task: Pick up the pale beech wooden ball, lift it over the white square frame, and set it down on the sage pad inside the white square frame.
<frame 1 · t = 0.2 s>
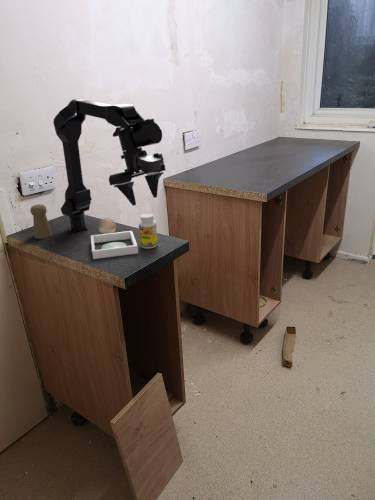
hand: (145, 201, 120), 15 cm above the table, tool pointing down, fingers open, 9 cm apart
white square frame: (114, 247, 127), on the table
supplement bottle: (149, 246, 128), on the table
wooden ball: (108, 234, 138), on the table
cork: (43, 236, 139), on the table
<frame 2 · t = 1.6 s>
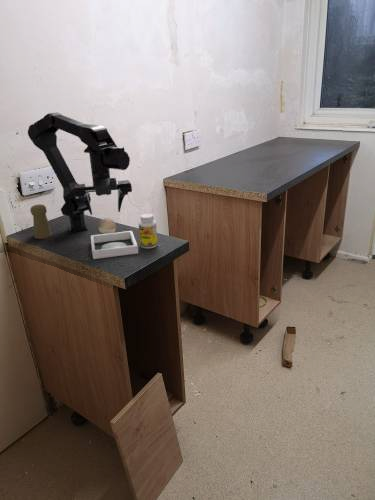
hand: (105, 213, 134), 8 cm above the table, tool pointing down, fingers open, 9 cm apart
nothing on the table moved.
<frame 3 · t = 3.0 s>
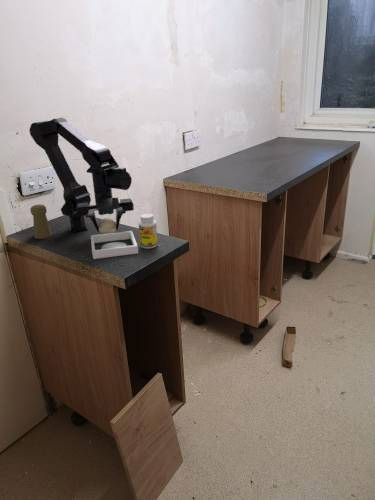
hand: (107, 230, 137), 2 cm above the table, tool pointing down, fingers closed on wooden ball, 6 cm apart
wooden ball: (108, 235, 138), on the table, touching gripper
everything else where it was.
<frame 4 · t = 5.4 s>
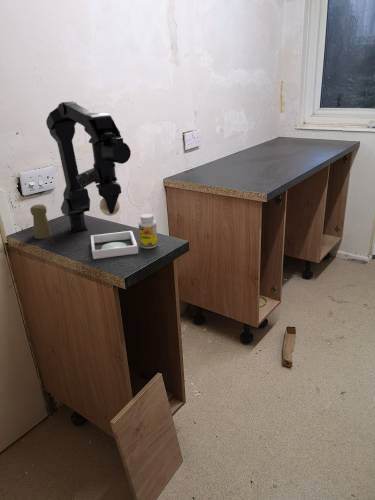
hand: (110, 210, 123), 12 cm above the table, tool pointing down, fingers closed on wooden ball, 6 cm apart
wooden ball: (110, 215, 123), point 11 cm above the table, touching gripper
everything else where it was.
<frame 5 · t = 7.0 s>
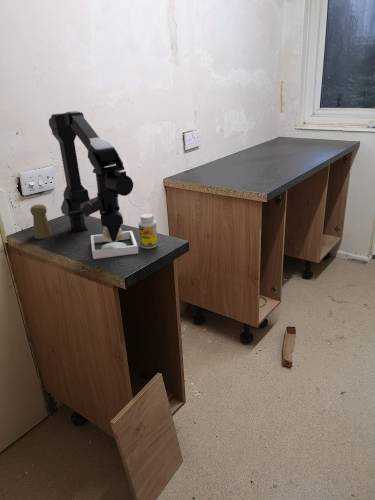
hand: (112, 237, 126), 4 cm above the table, tool pointing down, fingers closed on wooden ball, 6 cm apart
wooden ball: (113, 241, 126), point 2 cm above the table, touching gripper
everything else where it was.
when the fingers open (3 cm above the table, at t = 8.0 s): wooden ball drops 1 cm, resting on white square frame.
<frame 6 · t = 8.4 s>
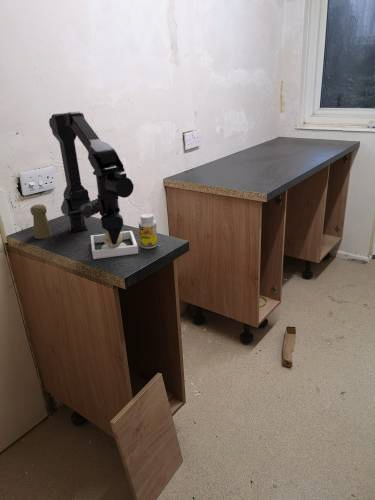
hand: (113, 239, 126), 3 cm above the table, tool pointing down, fingers open, 9 cm apart
wooden ball: (114, 246, 127), resting on white square frame
everything else where it was.
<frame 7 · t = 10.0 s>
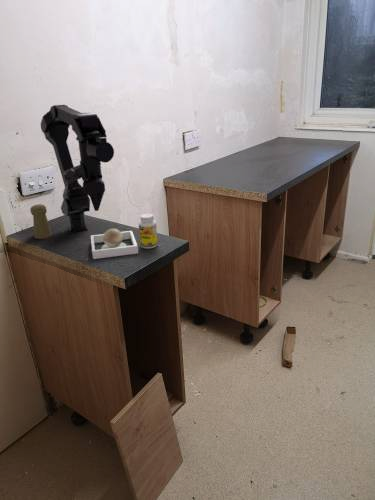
hand: (95, 206, 127), 12 cm above the table, tool pointing down, fingers open, 9 cm apart
nothing on the table moved.
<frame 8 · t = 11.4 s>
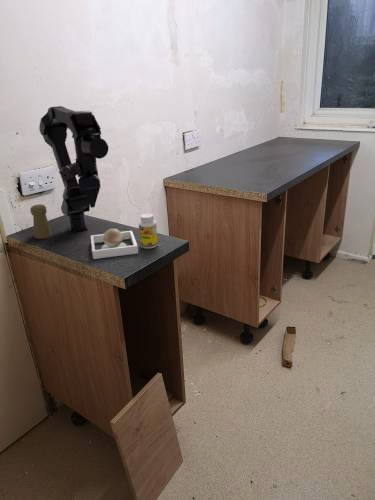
hand: (92, 203, 128), 13 cm above the table, tool pointing down, fingers open, 9 cm apart
nothing on the table moved.
at the end: wooden ball 0.0 cm off-centre on the white square frame, point 0.3 cm above the white square frame's base; the gripper is holding nothing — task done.
